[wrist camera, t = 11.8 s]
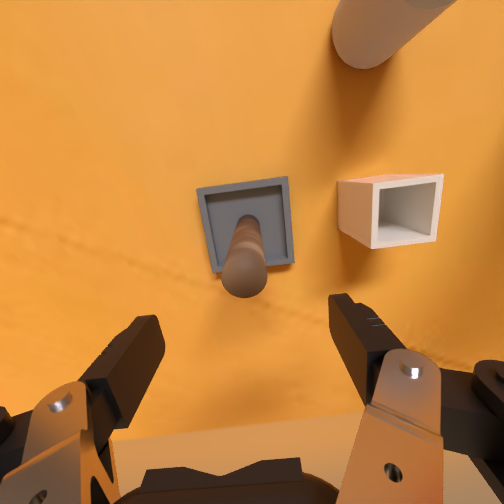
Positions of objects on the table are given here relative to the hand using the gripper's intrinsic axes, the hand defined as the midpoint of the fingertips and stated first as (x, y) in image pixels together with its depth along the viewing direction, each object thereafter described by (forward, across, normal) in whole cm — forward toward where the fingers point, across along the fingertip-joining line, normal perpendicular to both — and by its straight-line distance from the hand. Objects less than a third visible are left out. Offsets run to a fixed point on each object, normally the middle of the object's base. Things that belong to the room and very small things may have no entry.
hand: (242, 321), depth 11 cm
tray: (+21, 0, 0) cm, 21 cm away
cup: (+21, -15, -1) cm, 26 cm away
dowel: (+21, 0, 0) cm, 21 cm away
